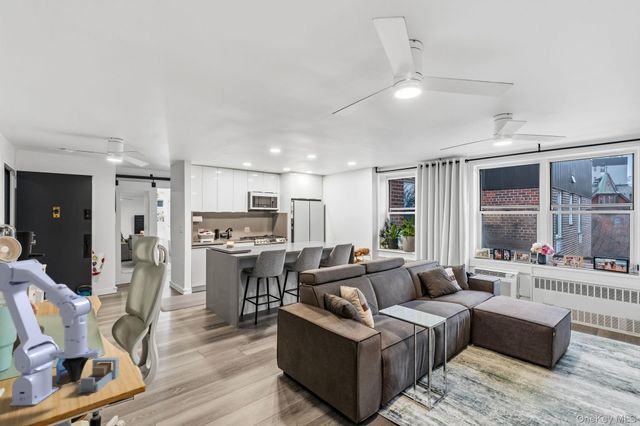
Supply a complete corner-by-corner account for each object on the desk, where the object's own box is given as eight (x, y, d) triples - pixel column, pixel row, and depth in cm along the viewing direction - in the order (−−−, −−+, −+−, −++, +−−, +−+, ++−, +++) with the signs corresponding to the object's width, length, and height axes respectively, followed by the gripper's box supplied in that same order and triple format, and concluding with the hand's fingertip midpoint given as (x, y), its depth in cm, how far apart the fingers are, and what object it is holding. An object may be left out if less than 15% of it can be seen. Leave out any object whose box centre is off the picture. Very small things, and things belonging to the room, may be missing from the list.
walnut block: (104, 379, 109) (104, 368, 109) (92, 379, 109) (92, 368, 109) (111, 373, 113) (111, 362, 113) (99, 374, 113) (99, 362, 113)
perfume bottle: (80, 353, 118) (76, 367, 108) (80, 370, 118) (76, 385, 108) (59, 357, 115) (53, 371, 105) (59, 374, 115) (53, 390, 105)
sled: (93, 390, 104) (93, 378, 104) (80, 391, 104) (80, 378, 104) (112, 375, 114) (112, 364, 114) (101, 375, 114) (101, 364, 114)
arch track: (96, 394, 102) (96, 374, 102) (70, 395, 102) (71, 374, 102) (125, 370, 118) (125, 352, 118) (103, 370, 118) (103, 352, 118)
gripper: (107, 332, 103) (107, 374, 103) (62, 332, 103) (62, 374, 103) (93, 340, 96) (93, 385, 96) (43, 341, 96) (43, 386, 96)
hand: (75, 381), depth 99 cm, fingers closed
